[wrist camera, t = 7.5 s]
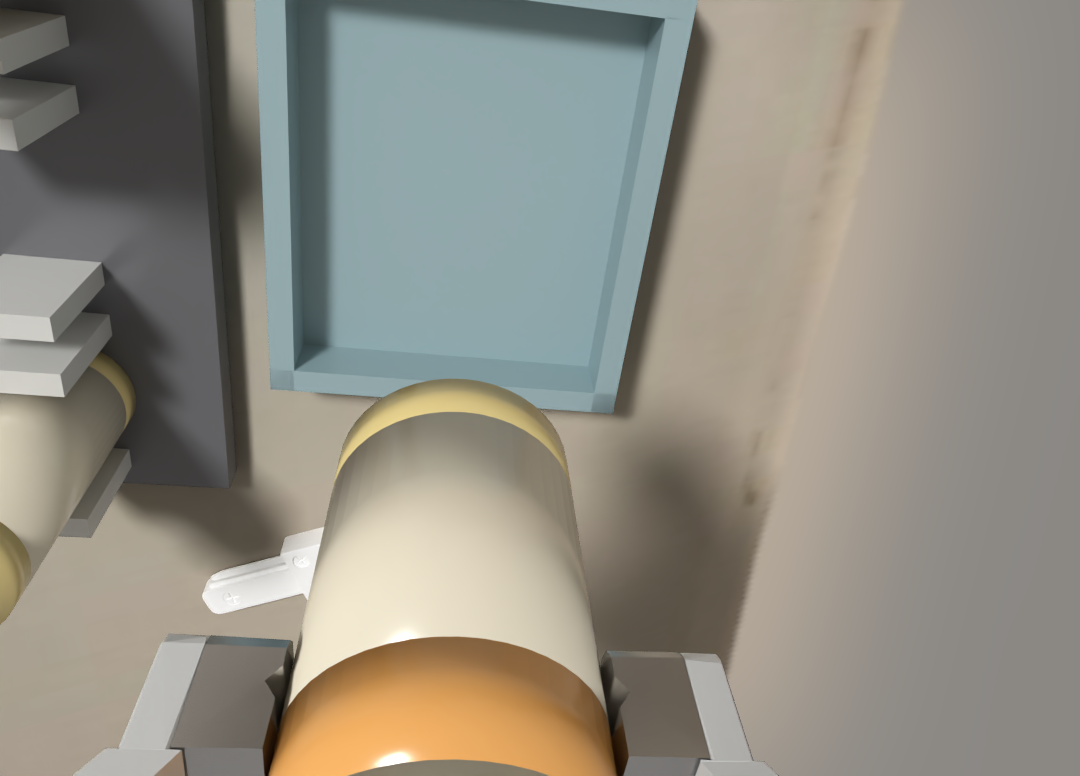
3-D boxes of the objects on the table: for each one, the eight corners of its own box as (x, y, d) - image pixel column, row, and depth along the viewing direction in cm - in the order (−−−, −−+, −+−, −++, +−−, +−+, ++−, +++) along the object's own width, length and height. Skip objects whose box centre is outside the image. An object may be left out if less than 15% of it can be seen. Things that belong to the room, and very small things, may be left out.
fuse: (5, 337, 29) (-177, 520, 21) (129, 346, 29) (-2, 528, 21) (26, 433, 31) (-132, 634, 23) (142, 440, 31) (27, 639, 23)
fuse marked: (339, 370, 14) (148, 1092, 6) (583, 388, 14) (731, 1077, 6) (337, 555, 16) (196, 1282, 8) (551, 565, 16) (629, 1259, 8)
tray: (271, -76, 24) (251, -70, 22) (680, -20, 26) (699, -9, 23) (284, 353, 31) (270, 389, 29) (603, 378, 33) (612, 413, 31)
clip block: (-238, -307, 21) (-430, -355, 16) (187, -239, 22) (115, -266, 18) (-33, 453, 32) (-113, 545, 28) (236, 469, 34) (201, 560, 29)
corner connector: (273, 671, 41) (266, 698, 39) (194, 552, 37) (183, 579, 35) (431, 632, 40) (430, 659, 39) (369, 506, 36) (365, 532, 35)
